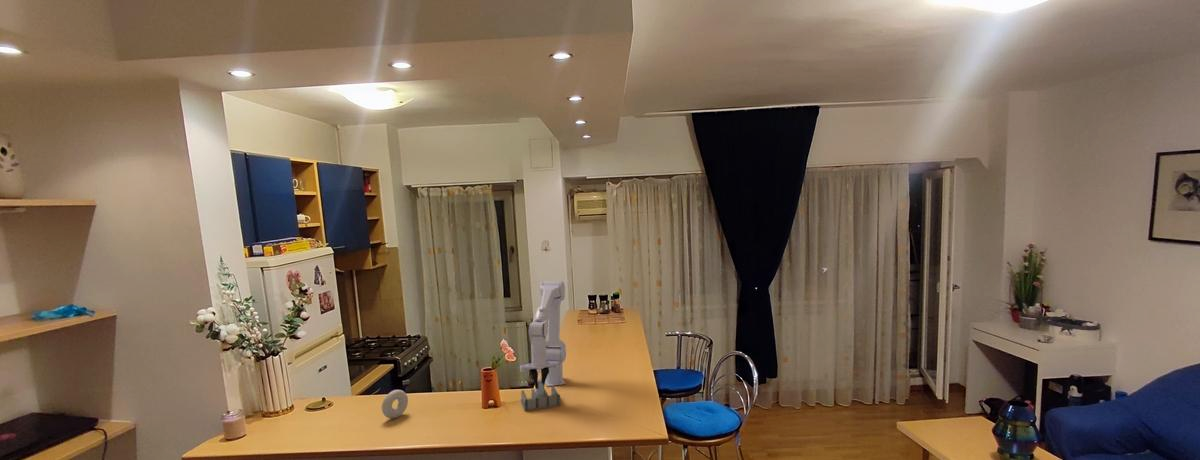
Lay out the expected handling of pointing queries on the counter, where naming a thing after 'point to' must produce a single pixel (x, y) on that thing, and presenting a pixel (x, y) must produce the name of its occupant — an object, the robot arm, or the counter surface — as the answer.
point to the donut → (388, 402)
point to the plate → (540, 388)
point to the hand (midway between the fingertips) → (539, 387)
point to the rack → (540, 400)
